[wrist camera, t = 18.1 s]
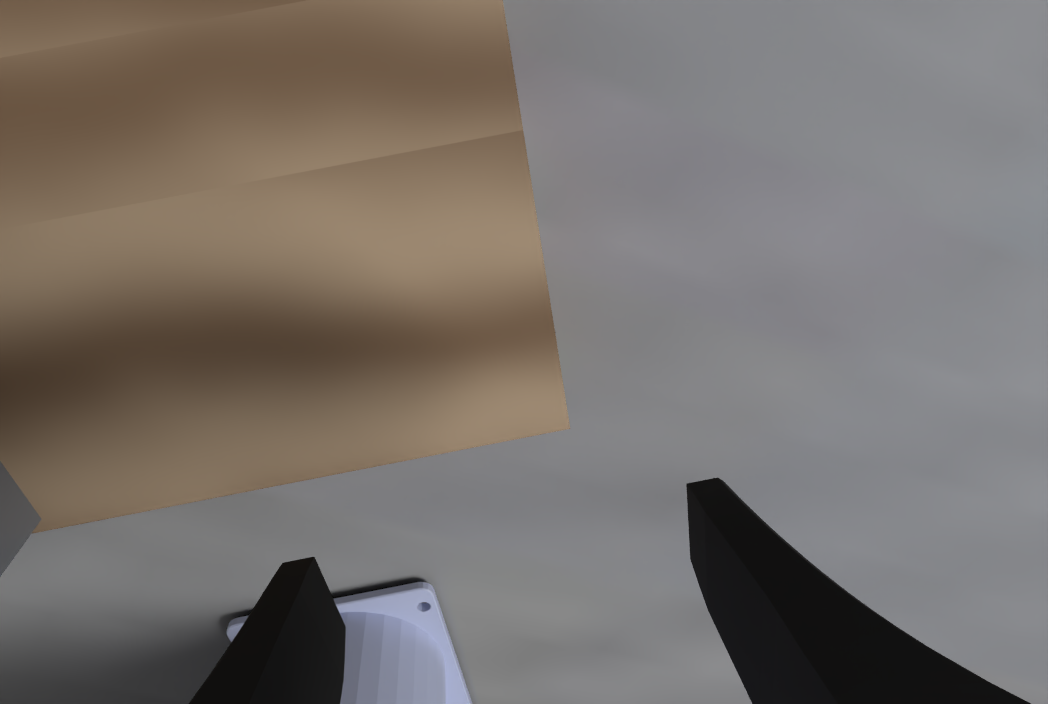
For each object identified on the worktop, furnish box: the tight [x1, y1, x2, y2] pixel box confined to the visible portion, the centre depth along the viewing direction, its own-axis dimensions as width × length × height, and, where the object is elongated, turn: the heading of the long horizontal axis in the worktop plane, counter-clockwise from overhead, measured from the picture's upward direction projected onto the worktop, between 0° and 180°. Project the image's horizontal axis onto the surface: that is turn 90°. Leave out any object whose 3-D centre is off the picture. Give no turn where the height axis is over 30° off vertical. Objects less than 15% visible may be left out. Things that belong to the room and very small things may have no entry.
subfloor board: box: [0, 0, 570, 534], centre depth 18 cm, size 15×26×2 cm, turn 99°
